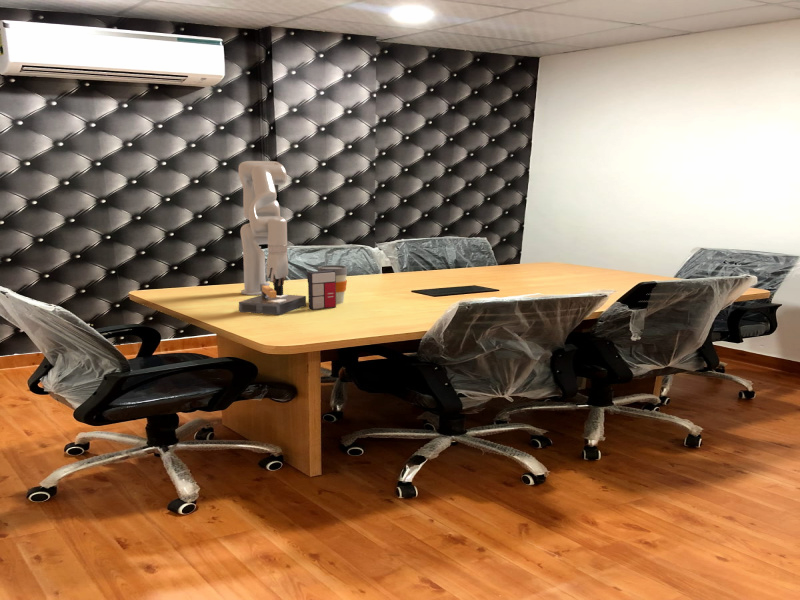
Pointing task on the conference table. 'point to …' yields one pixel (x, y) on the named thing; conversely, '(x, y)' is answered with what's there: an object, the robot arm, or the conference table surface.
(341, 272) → the reusable coffee cup
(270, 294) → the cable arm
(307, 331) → the conference table surface
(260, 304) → the server box
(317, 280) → the grey and red box
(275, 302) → the label
